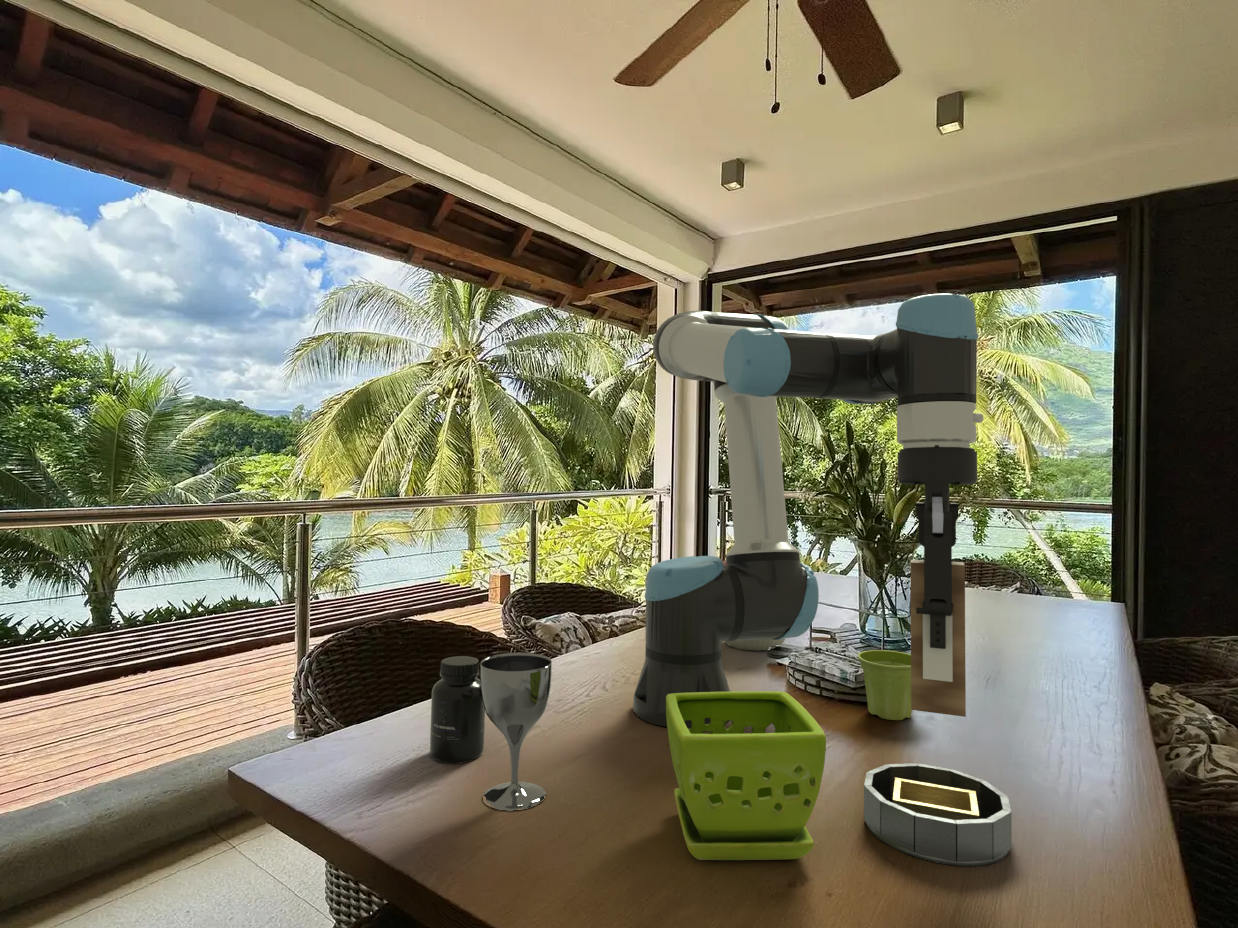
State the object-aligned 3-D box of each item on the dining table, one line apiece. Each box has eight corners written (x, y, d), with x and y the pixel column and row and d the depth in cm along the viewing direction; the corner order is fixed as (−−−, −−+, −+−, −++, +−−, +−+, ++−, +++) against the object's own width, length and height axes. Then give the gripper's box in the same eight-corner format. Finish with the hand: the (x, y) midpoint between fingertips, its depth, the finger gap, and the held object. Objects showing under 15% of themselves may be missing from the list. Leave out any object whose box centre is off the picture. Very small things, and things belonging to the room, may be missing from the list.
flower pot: (788, 804, 77) (789, 688, 77) (830, 876, 63) (831, 735, 63) (661, 804, 77) (663, 688, 77) (676, 877, 63) (678, 735, 63)
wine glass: (516, 774, 84) (518, 649, 84) (564, 794, 79) (566, 660, 79) (463, 797, 78) (465, 662, 78) (511, 820, 73) (513, 675, 73)
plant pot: (929, 727, 102) (929, 667, 102) (861, 722, 104) (861, 663, 104) (915, 706, 111) (915, 651, 111) (853, 702, 113) (853, 648, 113)
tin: (859, 846, 68) (859, 805, 68) (869, 790, 81) (870, 755, 81) (1017, 880, 63) (1017, 835, 63) (1002, 814, 75) (1002, 777, 75)
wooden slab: (911, 709, 71) (910, 562, 72) (911, 701, 74) (911, 559, 75) (965, 716, 69) (964, 565, 70) (964, 708, 72) (963, 562, 73)
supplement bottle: (430, 767, 86) (431, 668, 86) (429, 746, 92) (431, 655, 93) (486, 761, 88) (488, 665, 88) (482, 741, 94) (484, 652, 94)
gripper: (982, 441, 64) (984, 701, 63) (972, 450, 78) (973, 661, 78) (894, 442, 67) (894, 690, 66) (900, 450, 81) (900, 653, 81)
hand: (937, 674), depth 72 cm, fingers closed on wooden slab, 3 cm apart
